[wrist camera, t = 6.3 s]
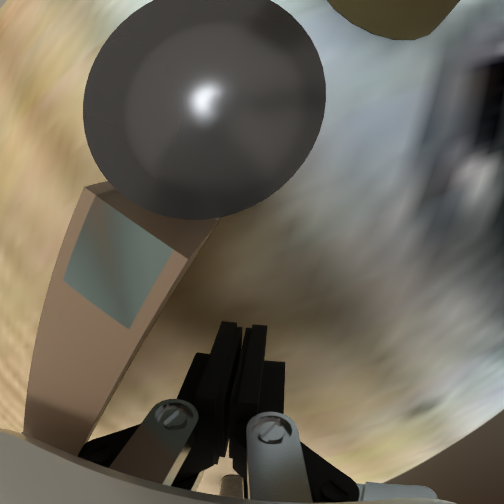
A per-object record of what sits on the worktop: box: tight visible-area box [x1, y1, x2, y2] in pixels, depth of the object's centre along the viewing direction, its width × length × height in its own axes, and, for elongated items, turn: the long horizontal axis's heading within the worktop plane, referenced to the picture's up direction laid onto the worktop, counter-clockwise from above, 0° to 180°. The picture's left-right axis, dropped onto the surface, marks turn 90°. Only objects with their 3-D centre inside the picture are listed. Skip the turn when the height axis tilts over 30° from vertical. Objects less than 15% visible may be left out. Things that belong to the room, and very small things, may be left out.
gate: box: [23, 181, 220, 456], centre depth 10 cm, size 19×2×8 cm, turn 146°
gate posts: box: [83, 0, 326, 499], centre depth 11 cm, size 2×24×10 cm, turn 176°
